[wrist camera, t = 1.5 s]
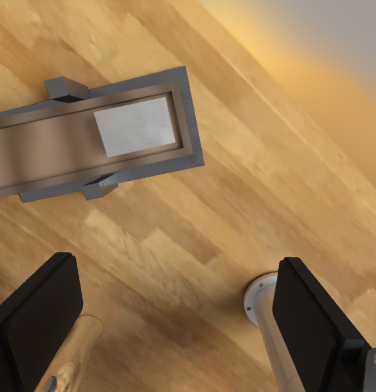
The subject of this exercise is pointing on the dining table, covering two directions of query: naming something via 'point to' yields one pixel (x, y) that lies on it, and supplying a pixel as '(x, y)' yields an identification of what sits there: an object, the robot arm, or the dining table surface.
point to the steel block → (135, 127)
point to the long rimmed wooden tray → (79, 141)
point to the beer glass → (72, 357)
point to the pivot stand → (103, 184)
